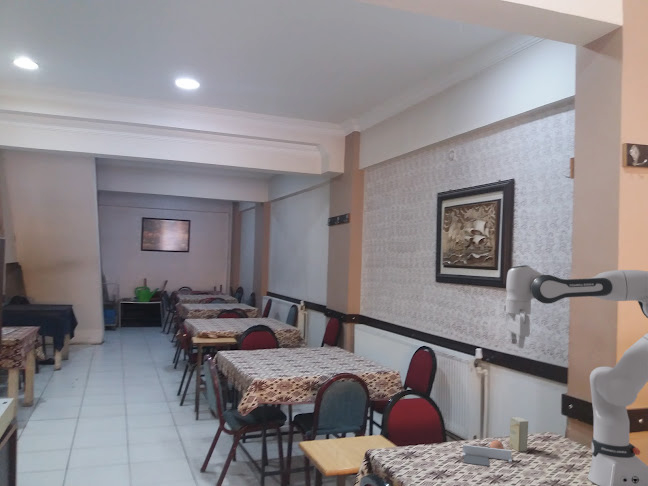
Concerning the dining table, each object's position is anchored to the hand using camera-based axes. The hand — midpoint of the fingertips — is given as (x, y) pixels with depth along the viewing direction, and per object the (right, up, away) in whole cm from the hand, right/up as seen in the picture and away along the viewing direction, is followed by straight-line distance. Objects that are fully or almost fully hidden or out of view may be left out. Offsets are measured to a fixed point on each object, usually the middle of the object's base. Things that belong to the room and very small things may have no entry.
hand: (517, 345), depth 193 cm
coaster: (-14, -44, +4) cm, 47 cm away
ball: (-4, -45, +12) cm, 47 cm away
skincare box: (+7, -46, +18) cm, 50 cm away
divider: (-9, -45, +8) cm, 46 cm away
